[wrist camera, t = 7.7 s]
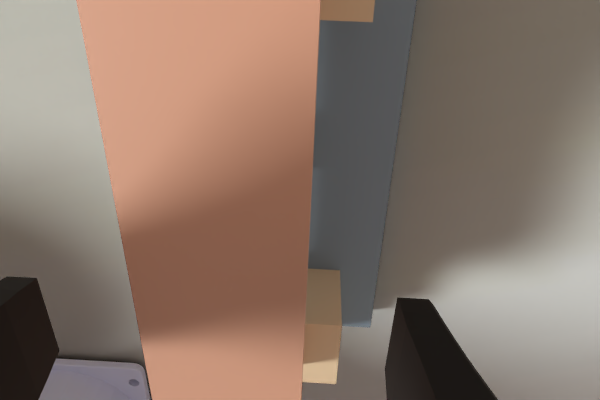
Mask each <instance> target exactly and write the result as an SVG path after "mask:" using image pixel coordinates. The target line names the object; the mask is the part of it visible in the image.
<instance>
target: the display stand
mask: <svg viewBox="0 0 600 400" xmlns="http://www.w3.org/2000/svg"><path fill="white" fill-rule="evenodd" d="M416 2H417V0H321V11H320V32H319V52H318V73H317V93H316V113H315V134H314V154H313V175H312V195H311V216H310V236H309V256H308V277H307V297H306V318H305V338H304V358H303V378H302V382H310V383H327V384H336V379H337V369H338V359H339V350H340V340H341V330H342V326H353V327H370V325H371V318H372V311H373V304H374V297H375V290H376V283H377V276H378V269H379V262H380V255H381V248H382V241H383V234H384V227H385V220H386V213H387V206H388V199H389V192H390V185H391V178H392V171H393V164H394V157H395V150H396V143H397V136H398V129H399V122H400V114H401V107H402V100H403V93H404V86H405V79H406V72H407V65H408V58H409V51H410V44H411V37H412V30H413V23H414V16H415V9H416Z"/></svg>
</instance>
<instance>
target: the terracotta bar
mask: <svg viewBox="0 0 600 400" xmlns="http://www.w3.org/2000/svg"><path fill="white" fill-rule="evenodd" d="M76 1H77V6H78V11H79V16H80V22H81V27H82V32H83V37H84V43H85V48H86V53H87V59H88V64H89V69H90V74H91V80H92V85H93V90H94V95H95V101H96V106H97V111H98V117H99V122H100V127H101V132H102V138H103V143H104V148H105V154H106V159H107V164H108V169H109V175H110V180H111V185H112V190H113V196H114V201H115V206H116V212H117V217H118V222H119V227H120V233H121V238H122V243H123V248H124V254H125V259H126V264H127V270H128V275H129V280H130V285H131V291H132V296H133V301H134V306H135V312H136V317H137V322H138V328H139V333H140V338H141V343H142V349H143V354H144V359H145V364H146V370H147V375H148V380H149V386H150V391H151V396H152V400H301V398H302V378H303V358H304V338H305V318H306V297H307V277H308V256H309V236H310V216H311V195H312V175H313V154H314V134H315V113H316V93H317V73H318V52H319V32H320V11H321V0H76Z"/></svg>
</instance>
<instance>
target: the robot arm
mask: <svg viewBox="0 0 600 400" xmlns="http://www.w3.org/2000/svg"><path fill="white" fill-rule="evenodd" d="M58 352H59V348H58V345H57V342H56V339H55V335H54V332H53V329H52V326H51V322H50V319H49V316H48V313H47V310H46V306H45V303H44V300H43V297H42V294H41V290H40V287H39V284H38V281H37V278H22V277H6V278H4V279H2V280H0V400H150V395H149V389H148V384H147V379H146V374H145V370H144V368H143V367H142V366H141V365H139V364H136V363H125V362H108V361H91V360H74V359H57V358H56V357H57V355H58ZM385 377H386V392H387V400H498V399H497V398H496V397H495V395H494V394H493V392H492V391H491V390H490V388H489V387H488V386H487V384H486V383H485V381H484V380H483V379H482V377H481V376H480V375H479V373H478V372H477V371H476V369H475V368H474V366H473V365H472V363H471V362H470V361H469V359H468V358H467V356H466V355H465V353H464V352H463V350H462V349H461V347H460V346H459V344H458V343H457V341H456V340H455V338H454V337H453V335H452V334H451V332H450V331H449V329H448V328H447V326H446V324H445V323H444V321H443V320H442V318H441V316H440V315H439V313H438V312H437V310H436V308H435V307H434V305H433V304H432V303H431V302H430V300H429V299H411V298H397V303H396V309H395V314H394V320H393V326H392V332H391V337H390V343H389V349H388V355H387V360H386V366H385Z"/></svg>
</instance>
